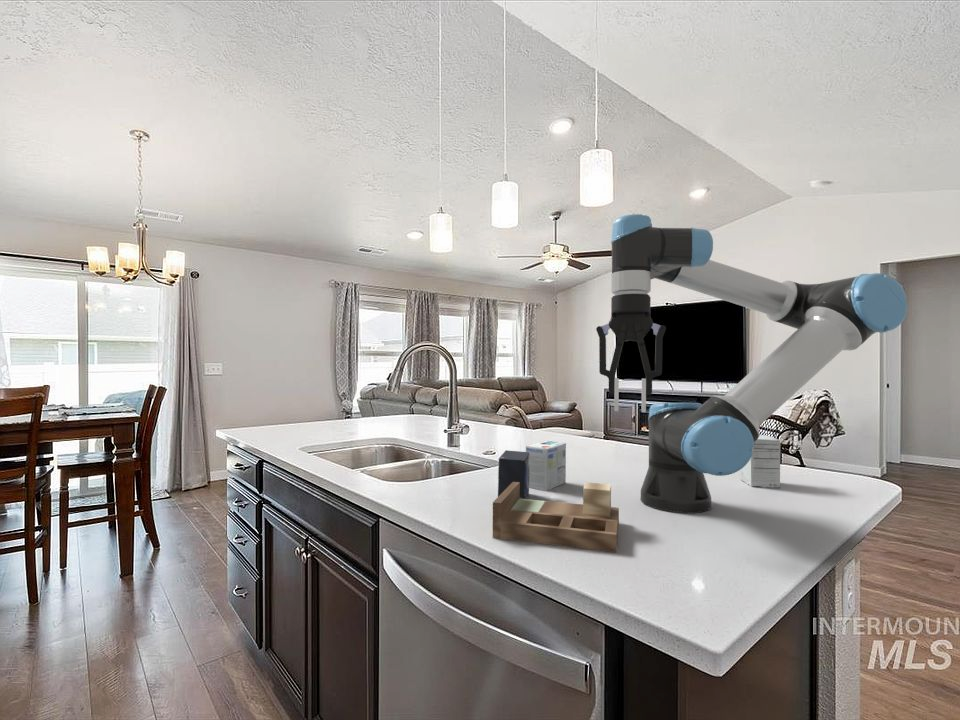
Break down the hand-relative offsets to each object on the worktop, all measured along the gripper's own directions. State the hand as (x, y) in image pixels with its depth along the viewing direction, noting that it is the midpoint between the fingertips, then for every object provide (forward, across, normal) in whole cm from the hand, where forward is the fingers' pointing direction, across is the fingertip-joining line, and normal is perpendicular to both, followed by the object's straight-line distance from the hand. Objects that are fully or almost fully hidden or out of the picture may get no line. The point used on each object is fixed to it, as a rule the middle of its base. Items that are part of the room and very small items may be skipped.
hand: (629, 410), depth 99 cm
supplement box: (+23, -33, -44) cm, 60 cm away
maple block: (+20, +6, +4) cm, 21 cm away
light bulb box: (+23, +21, -25) cm, 40 cm away
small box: (+23, +26, -10) cm, 36 cm away
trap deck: (+23, +13, +8) cm, 27 cm away
